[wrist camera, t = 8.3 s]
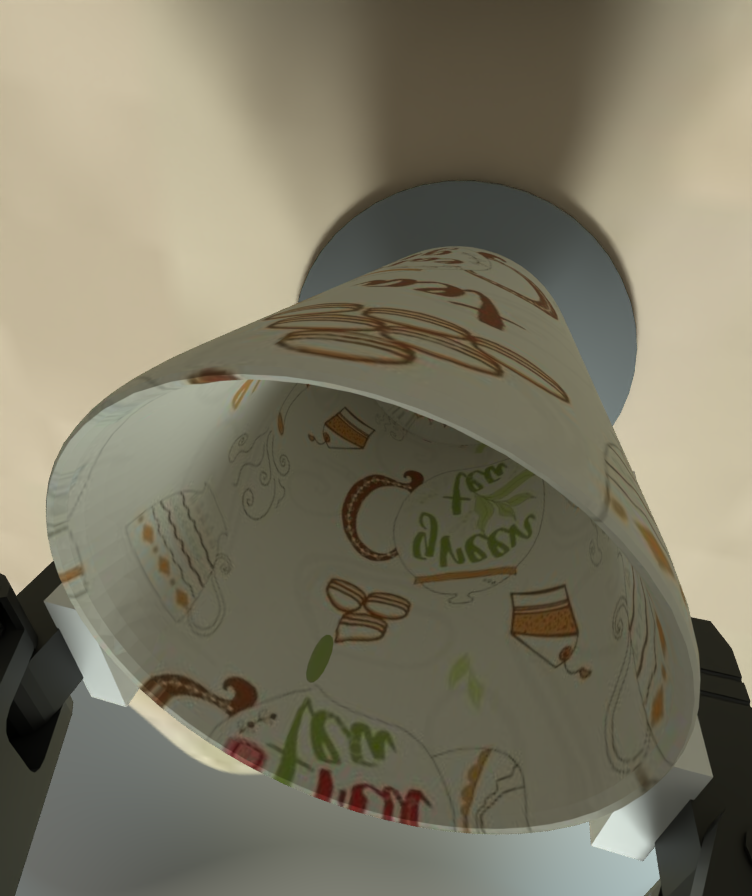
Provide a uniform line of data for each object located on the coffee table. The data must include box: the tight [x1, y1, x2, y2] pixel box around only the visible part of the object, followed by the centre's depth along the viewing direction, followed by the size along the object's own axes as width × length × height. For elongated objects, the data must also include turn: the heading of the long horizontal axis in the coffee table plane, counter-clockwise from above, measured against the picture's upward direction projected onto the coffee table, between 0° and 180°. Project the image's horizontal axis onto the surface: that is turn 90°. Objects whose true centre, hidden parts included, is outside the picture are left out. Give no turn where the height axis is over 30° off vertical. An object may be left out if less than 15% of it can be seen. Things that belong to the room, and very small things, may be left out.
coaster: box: [298, 181, 637, 426], centre depth 19 cm, size 12×12×1 cm
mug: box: [46, 246, 700, 834], centre depth 12 cm, size 8×13×10 cm, turn 167°
